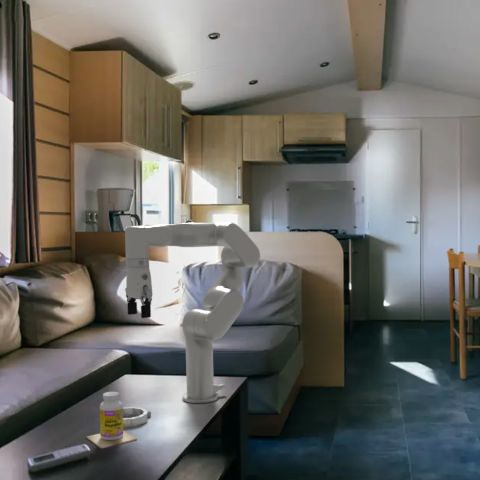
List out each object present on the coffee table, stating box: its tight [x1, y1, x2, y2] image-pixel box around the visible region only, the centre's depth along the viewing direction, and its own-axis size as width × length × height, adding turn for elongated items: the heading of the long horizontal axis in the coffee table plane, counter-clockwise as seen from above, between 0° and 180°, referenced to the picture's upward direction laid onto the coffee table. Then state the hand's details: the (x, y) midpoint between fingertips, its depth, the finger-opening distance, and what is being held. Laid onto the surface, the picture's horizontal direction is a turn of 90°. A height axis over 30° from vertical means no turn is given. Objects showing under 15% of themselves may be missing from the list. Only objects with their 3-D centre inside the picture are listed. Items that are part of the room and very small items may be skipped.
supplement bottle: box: [99, 391, 124, 440], centre depth 186 cm, size 7×7×13 cm
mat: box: [85, 429, 138, 449], centre depth 186 cm, size 11×11×1 cm
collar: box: [123, 406, 152, 428], centre depth 202 cm, size 15×12×2 cm
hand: (139, 315), depth 208 cm, fingers open, 9 cm apart
